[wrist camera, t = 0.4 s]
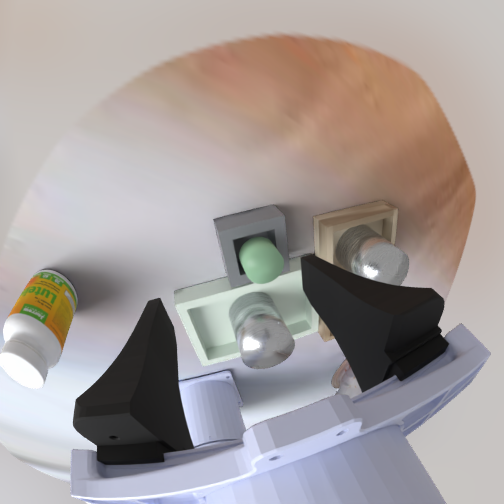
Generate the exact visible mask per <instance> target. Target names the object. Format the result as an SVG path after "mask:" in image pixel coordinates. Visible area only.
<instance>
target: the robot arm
mask: <svg viewBox="0 0 504 504" xmlns="http://www.w3.org/2000/svg"><path fill="white" fill-rule="evenodd" d="M300 259H301V272H302V286H303V291H304V293H305V295H306V296H307V298H308V300H309V302H310V304H311V305H312V307H313V308H314V310H315V311H316V312H317V314H318V315H319V316H320V318H321V319H322V321H323V322H324V323H325V325H326V326H327V327H328V329H329V330H330V331H331V333H332V334H333V336H334V337H335V339H336V341H337V342H338V344H339V346H340V348H341V350H342V351H343V353H344V355H345V357H346V359H347V361H348V363H349V365H350V367H351V369H352V371H353V373H354V375H355V378H356V380H357V382H358V384H359V387H360V389H361V391H362V393H361V394H359V395H357V396H355V397H353V398H351V399H350V397H349V395H340V394H337V395H334V396H331V397H328V398H325V399H322V400H320V401H318V402H315V403H313V404H310V405H308V406H305V407H302V408H300V409H297V410H294V411H291V412H289V413H286V414H283V415H280V416H277V417H274V418H271V419H267V420H265V421H262V422H260V423H257V424H255V425H253V426H251V427H250V428H249V429H247V430H246V428H245V425H244V422H243V419H242V415H241V412H240V409H239V407H242V406H243V405H244V404H243V401H242V399H241V397H240V394H239V392H238V389H237V387H236V384H235V382H234V379H233V377H232V374H231V372H230V371H223V372H219V373H215V374H211V375H207V376H203V377H199V378H194V379H190V380H185V381H181V382H179V380H178V361H177V343H176V337H175V331H174V326H173V324H172V322H171V320H170V318H169V316H168V314H167V312H166V310H165V308H164V306H163V303H162V301H161V299H160V298H157V299H154V300H150V301H148V303H147V305H146V307H145V309H144V311H143V313H142V315H141V317H140V319H139V321H138V323H137V325H136V327H135V329H134V331H133V333H132V334H131V336H130V338H129V340H128V341H127V343H126V345H125V346H124V348H123V349H122V351H121V352H120V354H119V355H118V357H117V358H116V359H115V361H114V362H113V363H112V364H111V366H110V367H109V368H108V369H107V370H106V372H105V373H104V374H103V375H102V376H101V377H100V378H99V379H98V380H97V381H96V382H95V383H94V384H93V385H92V386H91V387H90V388H89V389H88V390H87V391H85V392H84V393H83V394H82V395H81V396H79V397H78V398H77V399H76V402H75V409H74V417H73V426H74V428H75V429H76V431H77V432H79V433H80V434H81V435H82V436H84V437H85V438H87V439H88V440H89V441H91V442H92V443H94V444H95V445H97V452H96V451H93V450H78V449H73V450H71V496H72V497H74V498H77V499H80V500H82V501H85V502H88V503H91V504H446V502H445V501H444V499H443V497H442V496H441V494H440V492H439V490H438V489H437V487H436V486H435V484H434V483H433V481H432V479H431V478H430V476H429V475H428V473H427V471H426V470H425V468H424V466H423V465H422V463H421V461H420V460H419V458H418V457H417V455H416V453H415V452H414V450H413V449H412V447H411V446H410V444H409V443H408V441H407V439H406V438H405V437H406V436H407V435H408V434H410V433H411V432H413V431H414V430H415V429H417V428H418V427H419V426H421V425H422V424H423V423H425V422H426V421H427V420H428V419H429V418H431V417H432V416H433V415H434V414H436V413H437V412H438V411H439V410H441V409H442V408H443V407H444V406H445V405H446V404H448V403H449V402H450V401H451V400H452V399H453V398H455V397H456V396H457V395H458V394H459V393H460V392H461V391H463V390H464V389H465V388H466V387H467V386H468V385H469V384H470V383H471V382H472V381H473V379H474V378H475V377H476V375H477V374H478V372H479V371H480V370H481V368H482V367H483V365H484V364H485V362H486V361H487V359H488V358H489V356H490V355H491V353H490V352H489V350H487V348H486V347H485V346H484V345H483V344H482V343H481V342H480V341H479V340H478V339H477V338H476V337H475V336H474V335H473V334H472V333H471V332H470V331H469V330H468V329H467V328H466V327H465V326H464V325H463V324H462V323H461V324H459V325H458V326H456V327H455V328H454V329H453V330H451V331H450V332H449V333H447V334H446V336H445V337H442V335H441V334H440V333H441V332H442V330H441V329H440V328H439V327H438V323H439V321H440V318H441V316H442V313H443V310H444V299H443V298H442V297H441V296H440V295H439V294H438V293H437V292H435V291H434V290H433V289H432V288H415V287H405V286H398V285H392V284H387V283H383V282H379V281H375V280H372V279H368V278H365V277H362V276H359V275H357V274H354V273H352V272H349V271H347V270H344V269H342V268H340V267H338V266H336V265H334V264H331V263H329V262H327V261H325V260H323V259H321V258H319V257H317V256H315V255H312V254H310V255H307V256H303V257H300Z"/></svg>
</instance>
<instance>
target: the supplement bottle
mask: <svg viewBox="0 0 504 504" xmlns="http://www.w3.org/2000/svg"><path fill="white" fill-rule="evenodd" d="M77 302H78V301H77V294H76V291H75V289H74V287H73V286H72V284H71V283H70V282H69V280H68V279H67V278H66V277H64V276H63V275H62V274H60V273H58V272H56V271H53V270H41V271H39V272H37V273H36V274H34V276H33V277H32V278H31V280H30V281H29V283H28V284H27V286H26V287H25V289H24V291H23V292H22V294H21V296H20V297H19V299H18V300H17V302H16V304H15V306H14V307H13V309H12V311H11V313H10V314H9V316H8V318H7V320H6V322H5V325H4V330H3V333H4V338H5V344H4V346H3V348H2V351H1V353H0V364H1V366H2V368H3V369H4V370H5V372H6V373H7V374H8V375H9V376H10V377H11V378H12V379H14V380H15V381H17V382H18V383H20V384H22V385H24V386H26V387H29V388H34V389H36V388H41V387H43V385H44V383H45V380H46V377H47V373H48V369H50V368H53V367H54V366H55V365H56V364H57V363H58V362H59V359H60V357H61V354H62V350H63V347H64V343H65V340H66V337H67V334H68V331H69V328H70V325H71V322H72V319H73V316H74V314H75V311H76V308H77Z"/></svg>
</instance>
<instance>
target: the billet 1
mask: <svg viewBox="0 0 504 504" xmlns="http://www.w3.org/2000/svg"><path fill="white" fill-rule="evenodd" d="M229 319H230V322H231V325H232V329H233V332H234V335H235V338H236V342H237V345H238V348H239V351H240V354H241V357H242V360H243V362H244V364H245V365H246V366H248V367H250V368H254V369H266V368H270V367H273V366H276V365H278V364H280V363H281V362H283V361H284V360H286V359H287V358H288V357H289V356H290V355H291V353H292V352H293V350H294V347H295V341H294V339H293V337H292V335H291V333H290V331H289V330H288V328H287V326H286V324H285V322H284V320H283V318H282V316H281V314H280V313H279V311H278V309H277V307H276V305H275V303H274V301H273V299H272V298H271V297H270V296H269V295H267V294H265V293H262V292H250V293H247V294H244V295H242V296H240V297H239V298H237V299H236V300H235V301H234V302H233V303H232V305H231V307H230V309H229Z"/></svg>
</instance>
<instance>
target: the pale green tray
mask: <svg viewBox="0 0 504 504" xmlns="http://www.w3.org/2000/svg"><path fill="white" fill-rule="evenodd" d="M307 255H310V254H306V255H303V256H307ZM303 256H299V257H296V258H293V259H289V265H290V271H288V272H285V273H281V274H280V275H279V276H278V277H277V278H276V279H275V280H273V281H271V282H269V283H265V284H257V283H254V282H250V283H246V284H243V285H239V286H236V287H232V288H231V285H230V282H229V280H228V277H225V278H221V279H217V280H214V281H210V282H206V283H202V284H199V285H195V286H191V287H187V288H184V289H180V290H176V291H174V299H175V307H176V309H177V311H178V314H179V316H180V318H181V321H182V323H183V325H184V327H185V330H186V332H187V334H188V336H189V338H190V341H191V343H192V345H193V347H194V349H195V351H196V353H197V355H198V357H199V360H200V362H201V364H202V366H203V367H204V366H208V365H212V364H216V363H219V362H223V361H227V360H231V359H234V358H238V357H241V354H240V351H239V348H238V345H237V342H236V338H235V335H234V332H233V329H232V325H231V322H230V319H229V309H230V307H231V305H232V303H233V302H234V301H235V300H236V299H237V298H239V297H240V296H242V295H244V294H247V293H250V292H262V293H265V294H267V295H269V296H270V297H271V298H272V299H273V301H274V303H275V305H276V307H277V309H278V311H279V313H280V314H281V316H282V318H283V320H284V322H285V324H286V326H287V328H288V330H289V331H290V333H291V335H292V337H293V339H294V340H295V339H298V338H301V337H304V336H307V335H309V334H312V333H315V332H318V324H319V315H318V314H317V312H316V311H315V310H314V308H313V307H312V305H311V304H310V302H309V300H308V298H307V296H306V295H305V293H304V291H303V286H302V272H301V259H300V257H303Z"/></svg>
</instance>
